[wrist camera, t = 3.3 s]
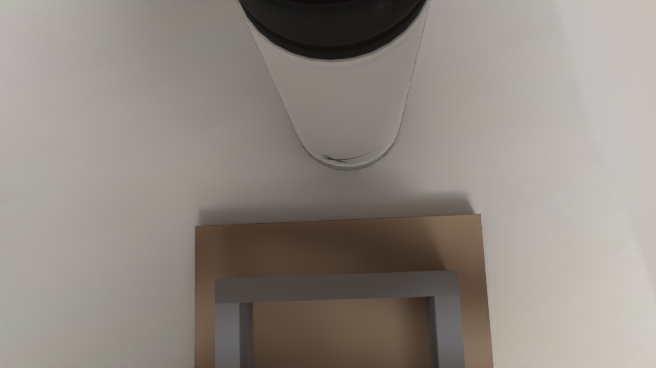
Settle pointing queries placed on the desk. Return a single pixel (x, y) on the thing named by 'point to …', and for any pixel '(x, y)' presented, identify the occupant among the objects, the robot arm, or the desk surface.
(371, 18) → the travel mug
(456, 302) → the mug holder
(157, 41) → the desk surface
